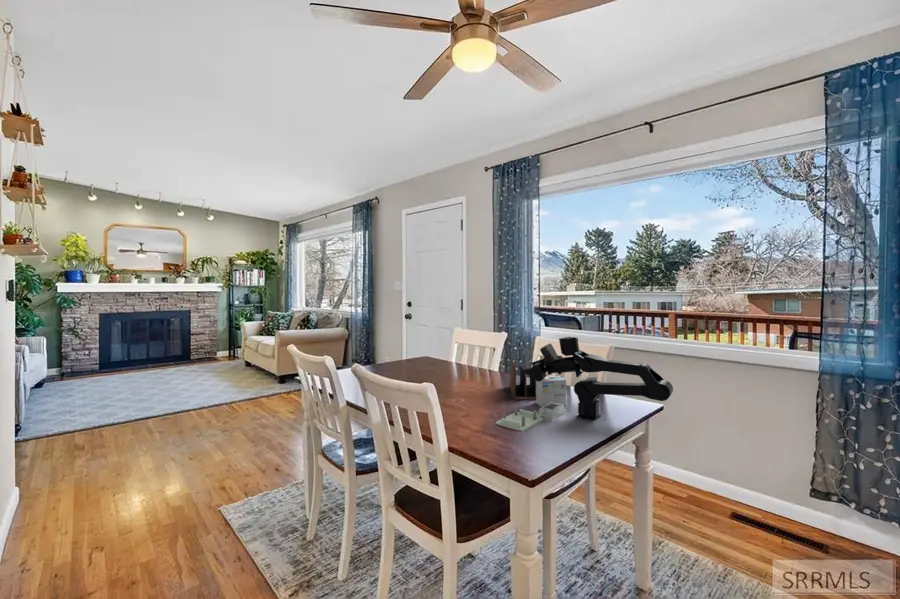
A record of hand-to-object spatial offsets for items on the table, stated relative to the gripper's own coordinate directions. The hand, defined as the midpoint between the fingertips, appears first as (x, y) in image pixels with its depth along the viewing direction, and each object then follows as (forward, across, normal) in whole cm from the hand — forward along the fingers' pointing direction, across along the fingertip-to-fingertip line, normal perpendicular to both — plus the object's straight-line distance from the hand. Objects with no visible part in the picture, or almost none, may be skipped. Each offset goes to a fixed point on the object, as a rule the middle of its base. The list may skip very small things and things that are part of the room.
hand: (527, 367), depth 169 cm
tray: (-4, +22, +14) cm, 26 cm away
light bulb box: (-4, -4, +17) cm, 18 cm away
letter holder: (+12, -13, +16) cm, 23 cm away
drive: (-10, +9, +17) cm, 22 cm away
